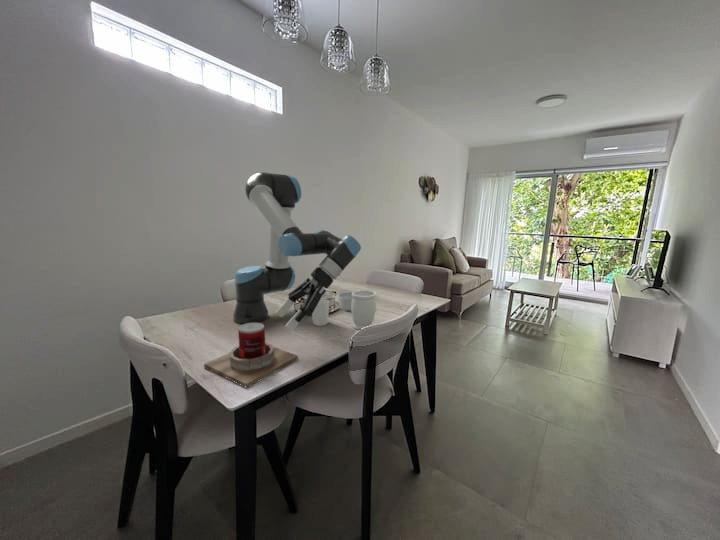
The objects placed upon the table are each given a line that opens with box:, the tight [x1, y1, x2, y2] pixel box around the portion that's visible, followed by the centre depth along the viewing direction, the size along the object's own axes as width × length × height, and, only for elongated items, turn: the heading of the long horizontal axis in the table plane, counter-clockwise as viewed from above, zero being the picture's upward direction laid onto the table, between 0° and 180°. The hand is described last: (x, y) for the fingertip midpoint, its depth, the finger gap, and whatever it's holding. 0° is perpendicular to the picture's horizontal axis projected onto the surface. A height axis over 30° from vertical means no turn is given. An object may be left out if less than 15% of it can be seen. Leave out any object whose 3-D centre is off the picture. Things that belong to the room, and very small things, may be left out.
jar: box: [350, 290, 377, 331], centre depth 125 cm, size 11×10×15 cm
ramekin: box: [337, 291, 353, 312], centre depth 151 cm, size 13×13×7 cm
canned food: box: [237, 322, 266, 359], centre depth 92 cm, size 8×8×11 cm
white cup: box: [311, 298, 330, 327], centre depth 128 cm, size 8×8×10 cm
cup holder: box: [203, 342, 299, 388], centre depth 93 cm, size 20×20×4 cm
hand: (283, 321), depth 96 cm, fingers open, 13 cm apart
